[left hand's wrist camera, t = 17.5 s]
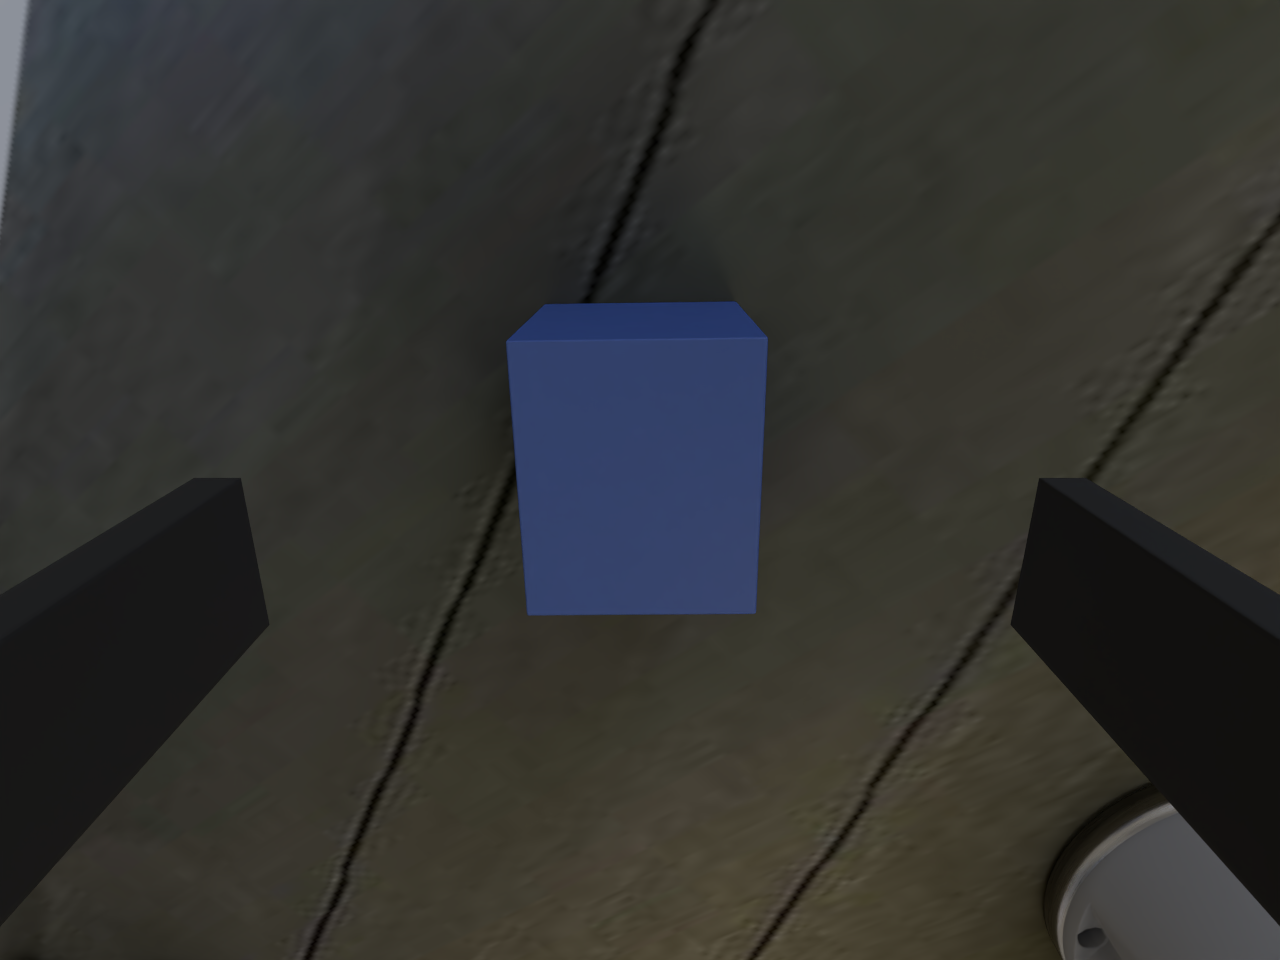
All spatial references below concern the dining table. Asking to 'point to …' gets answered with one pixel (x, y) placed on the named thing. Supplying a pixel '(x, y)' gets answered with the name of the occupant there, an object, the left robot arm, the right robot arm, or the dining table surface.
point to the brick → (639, 457)
